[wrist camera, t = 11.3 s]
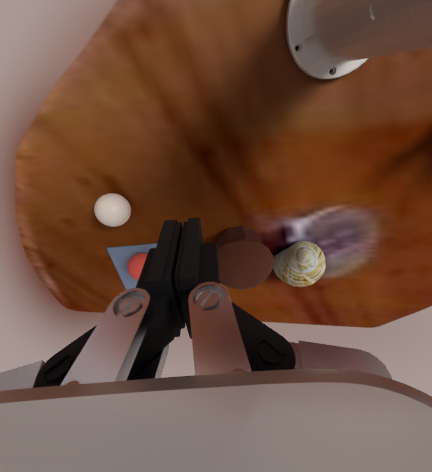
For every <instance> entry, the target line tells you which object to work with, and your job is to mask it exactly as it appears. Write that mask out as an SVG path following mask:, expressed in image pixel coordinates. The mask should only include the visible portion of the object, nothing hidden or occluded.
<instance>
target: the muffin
mask: <svg viewBox="0 0 432 472" xmlns="http://www.w3.org/2000/svg"><path fill="white" fill-rule="evenodd" d="M217 249H218V259H219V271H220V282H221V283H222V284H224V285H226V286H229V287H232V288H236V289H247V288H251V287H256V286H257V285H259V284H261V283H262V282H264V281H265V280H266V279H267V277H268V276H269V274H270V273H271V271H272V269H273V264H274V256H273V255H272V253H271V252H270V250H269V249H268V247H266V246H264V245H263V244H262V242H261V241H260V239H259V238H258V236H257V235H256V233H255V232H254V230H251V229H248V228H246V227H244V226H238V227H233V228H227V229H226V230H225V231H224V233H222V234H221V235H220V236H218V241H217Z"/></svg>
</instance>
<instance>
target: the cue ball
mask: <svg viewBox="0 0 432 472" xmlns="http://www.w3.org/2000/svg"><path fill="white" fill-rule="evenodd" d="M94 212H95V215H96V217H97V219H98V220H99V221H100V222H101V223H103V224H104V225H107V226H111V227H116V226H120V225H122V224H124V223H125V222H126V221H127V220H128V219H129V217H130V215H131V207H130V204H129V202H128V201H127V200H126V199H125V198H124V197H123V196H121V195H118V194H114V193H109V194H105V195H103V196H101V197H100V198H99V199H98V200H97V201H96V203H95V206H94Z"/></svg>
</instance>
